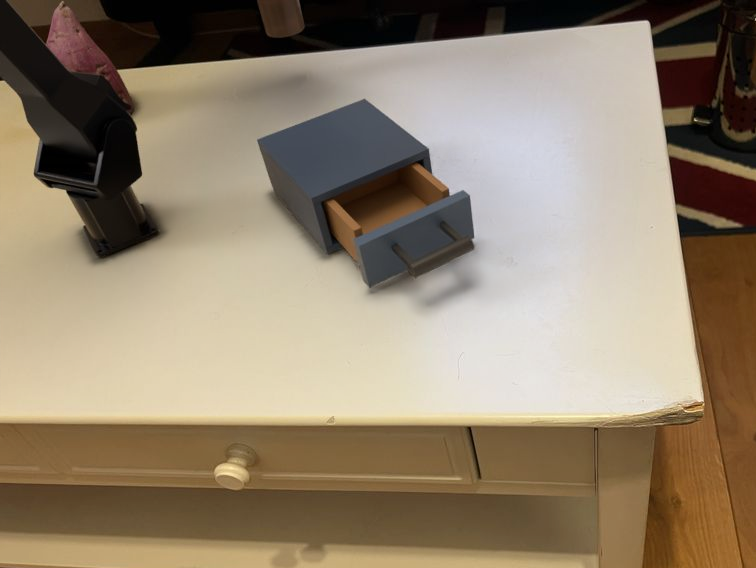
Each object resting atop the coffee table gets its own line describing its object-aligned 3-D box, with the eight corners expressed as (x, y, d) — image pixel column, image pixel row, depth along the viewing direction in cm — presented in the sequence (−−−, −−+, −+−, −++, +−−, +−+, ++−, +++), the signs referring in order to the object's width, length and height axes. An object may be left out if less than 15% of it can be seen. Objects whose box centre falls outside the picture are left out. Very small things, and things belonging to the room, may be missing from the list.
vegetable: (113, 113, 103) (80, -4, 96) (153, 120, 98) (122, -4, 90) (38, 129, 96) (-4, 4, 89) (78, 138, 91) (37, 5, 83)
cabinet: (437, 205, 75) (429, 148, 70) (327, 254, 71) (311, 198, 66) (375, 152, 83) (364, 98, 79) (274, 193, 79) (256, 139, 74)
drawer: (501, 261, 66) (498, 218, 63) (393, 315, 63) (383, 272, 59) (409, 181, 77) (402, 141, 73) (312, 223, 73) (299, 183, 70)
